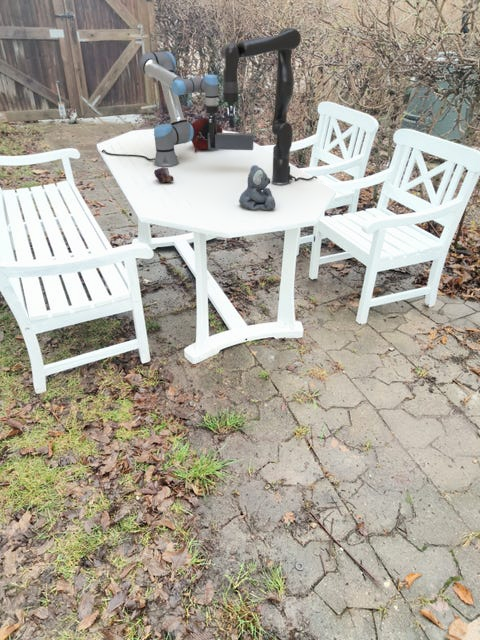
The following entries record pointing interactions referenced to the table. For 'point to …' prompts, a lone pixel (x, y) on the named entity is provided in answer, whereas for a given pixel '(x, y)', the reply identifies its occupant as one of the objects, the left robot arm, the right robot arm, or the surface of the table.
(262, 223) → the table surface
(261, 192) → the koala plush
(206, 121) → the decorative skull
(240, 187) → the table surface
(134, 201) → the table surface
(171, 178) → the rock
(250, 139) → the bar
